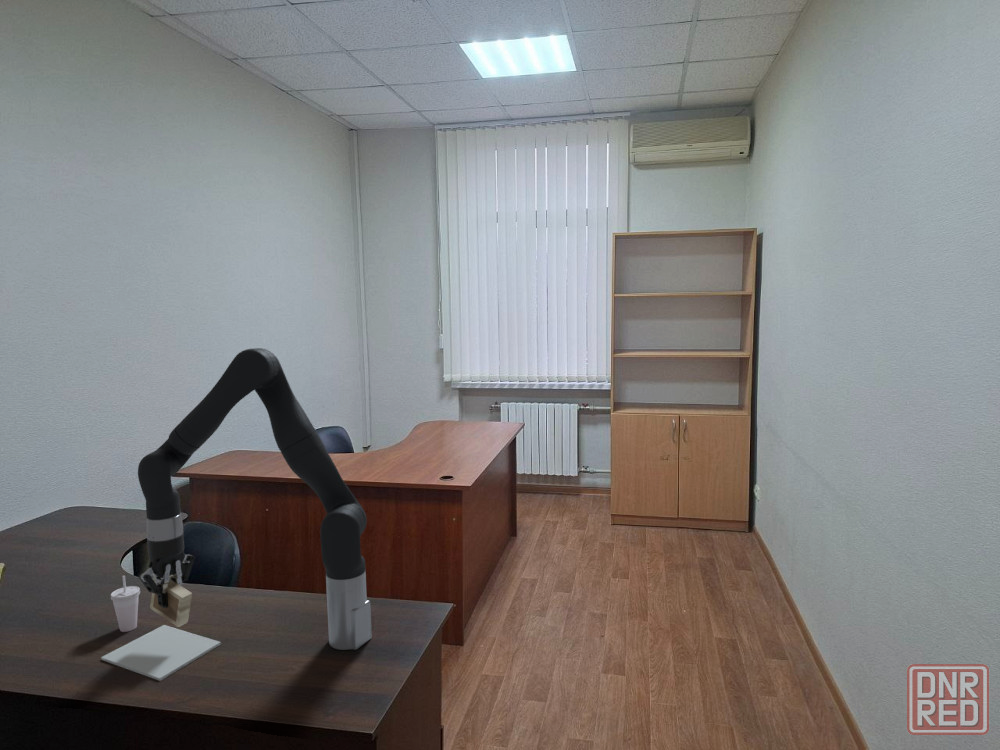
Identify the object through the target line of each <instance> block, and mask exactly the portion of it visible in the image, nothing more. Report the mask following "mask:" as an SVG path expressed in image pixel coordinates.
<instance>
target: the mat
mask: <svg viewBox="0 0 1000 750" xmlns="http://www.w3.org/2000/svg"><path fill="white" fill-rule="evenodd" d="M220 645H222V642H221V641H219V640H215V639H212V638H209V637H205V636H202V635H199V634H195V633H194V632H192V633H191V632H189V631H185V630H183V629H179V628H177V627H172V626H169V625H166V624H163V625H161V626H159V627H157V628H154V629H153V630H151V631H150V632H148V633H146V634H143V635H142V636H140V637H137V638H135V639H134V640H131V641H130V642H128V643H126V644H125V645H122V646H120V647H119V648H116V649H114V650H112V651H110V652H108V653H107V654H105V655H103V656H101V657H100V659H101V660H102V661H104V662H107V663H109V664H112V665H114V666H117V667H121V668H123V669H127V670H128V671H131V672H135V673H137V674H139V675H142V676H146V677H148V678H151V679H152V680H153V679H154V680H157V681H159V682H160V681H163V680H164V679H166V678H167V677H169V676H170V675H173V674H174V673H176V672H178V671H179V670H180V669H181V670H182V669H183V668H184V667H186V666H187V665H189V664H191V663H193V662H194V661H196V660H197V659H199V658H201V657H203V656H205V655H206V654H208V653H209V652H210V651H212V650H214V649H216V648H217V647H219V646H220Z"/></svg>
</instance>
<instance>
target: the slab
mask: <svg viewBox="0 0 1000 750" xmlns="http://www.w3.org/2000/svg"><path fill="white" fill-rule="evenodd" d="M153 580H154V582H155V578H153ZM155 583H156V582H155ZM167 595H168V607H167V608H163V607H161V606H159V605H158V595H157V594H154V593H151V597H150V605H149V609H151V610H152V611H153V612H155V613H156V614H158V616H161V617H162V618H164V619H165V620H167V622H169V623H171V624H173V625H174V626H175V627H176V628H180V627H182V626H183V625H185V624H188V623H189V618H190V617H189V616H190V611H191V604H192V597H193V593H192V591H189V590H188V589H186V588H185V587H183V586H182V585H181V586H180V585H179V584H177V583H176V582H174V581H172V580H171V579H170V578H169V583H168V586H167Z"/></svg>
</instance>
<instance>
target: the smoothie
mask: <svg viewBox="0 0 1000 750" xmlns="http://www.w3.org/2000/svg"><path fill="white" fill-rule="evenodd" d="M125 575H126V574H125ZM125 575H122V586H123V587H121V588H117V589H116V590H114V591H112V592H111V593H110V600H111V601H112V604H113V607H114V612H115V615H116V619H117V624H118V628H119V631H120V632H122V633H126V632H130V631H133V630H135V629H136V628H137V627H138V613H139V612H138V611H139V610H138V609H139V596H140V594H141V589H140V587H139V586H136V585H129V586H127V584H126V576H125Z"/></svg>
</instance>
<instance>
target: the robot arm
mask: <svg viewBox="0 0 1000 750" xmlns="http://www.w3.org/2000/svg"><path fill="white" fill-rule="evenodd" d="M281 364H282V363H280V360H279V359H278V357H277V356H276V355H275V354H274V352H272V351H270V350H269V349H267V348H266V349H265V348H262V347H261V348H257V347H256V348H249V349H247V348H246V349H243V350H241V351H240V352H238V353H237V354H236V355H235V357H234V358H233V359H232V360H231V362H230V364H229V365H228V366H227V368H226V369H225V370H224V372H223V373H222V376H220V378H219V379H218V380H217V382H216V384H215V385H214V386H213V387H212V389H211V390H210V391H209V392H208V393H207V394H206V396H205V397H204V398H203V399H202V400H200V402H198V404H197V405H196V406H195V407H194V408H193V409H191V411H190V412H189V413H188V414H187V415H186V416H185V417H184V418H183V419H182V420H181V421H180V422H179V423H178V424H177V425H176V426H175V427H174V428H173V429H172V430H171V432H170V433H169V435H168V438H167V439H166V440H165V441H164V442H163V443H162V444H161V445H160V446H159V447H158V448H157V449H155V450H154V451H151V452H150V453H148V454H146V455H145V456H144V457H143V458H141V460H140V461H139V463H138V467H137V478H138V483H139V485H140V489H141V492H142V495H143V497H144V499H145V510H146V511H145V513H146V527H145V528H146V529H145V530H146V541H147V542H146V543H147V552H148V553H147V555H148V557H149V563H148V569H146V570H145V571H144V572H141V573H139V574H138V579H139V581H140V582H141V583H142V585H143V586H144V587H145V589H146V590H147V591H148V592H149V593H151V594H152V593H154V594H157V595H158V605H159V606H161V607H163V608H167V607H168V595H167V586H168V583H169V579H171V580H172V581H174V582H176V583H177V584H179V585H180V586H182V585H183V583H184V582H187V581H189V577H190V575H191V572H192V569H193V566H194V562H195V559H196V556H195V555H192V554H188V553H187V554H186V553H185V538H184V537H185V536H184V525H183V518H182V511H181V510H182V509H181V497H180V495H179V492H178V490H177V489H175V488H173V484H172V477H173V476H175V475H176V474H177V473H178V472H179V471H180V470H181V469H182V468H183V467H184V466H185V464H186V463H188V461H189V460H190V458H191V457H192V456H193V454H194V453H196V452H197V450H199V449H200V448H201V447H202V446H203V445H204V444H205V443H206V442H207V441H208V440H209V438H211V437H212V436H213V435H214V433H215V432H216V431H217V430H218V429H219V427H220V426H221V425H222V424H223V421H224V420H225V419H226V417H227V416H228V414H229V413H230V411H231V410H233V408H234V407H235V406H236V405H237V404H238V403H239V402H240V401H242V400H243V399H245V397H246V396H248V395H249V394H250V393H252V392H254V391H255V393H256V394H257V396H258V397H259V398H260V400H261V402H262V403H263V406H264V407H265V410H266V411H267V413H268V414H267V415H268V417H269V420H270V421H269V422H270V425H271V426H270V427H271V430H272V433H273V438H274V439H275V440H274V441H275V443H276V445H277V447H278V449H279V451H280V453H281V455H282V457H283V459H284V460H285V462H286V464H287V465H288V467H289V468H290V470H291V471H292V472H293V473H294V474H295V475H296V476H297V477H298V478H299V479H300V480H302V481H303V482H304V483H305V484H306V485H307V486H308V487H310V488H311V490H313V491H314V493H315V494H316V496H317V498H319V500H320V502H321V503H322V505H323V507H324V510H325V513H326V516H325V517H324V518H323V519H322V522H321V525H320V531H319V533H320V535H319V537H320V547H321V548H320V550H321V560H322V561H321V562H322V565H323V566H324V568H325V583H326V604H327V608H326V609H327V626H328V628H327V630H328V644H329V646H330V647H331V648H333V649H336V650H339V651H340V650H341V651H345V650H348V651H349V650H355V651H357V650H358V649H359V648H361V647H362V646H363V645H364V644H366V643H367V642H368V641H369V640H371V639H372V638H373V637H372V616H371V615H372V612H371V610H372V609H371V601H370V600H368V598H367V597H368V596H367V577H366V576H367V574H366V559H365V558H364V556H363V555H362V551H361V549H362V548H361V535H362V534H363V532H364V531H365V529H366V527H367V524H368V521H367V514H366V512H365V510H364V508H363V506H362V505H361V504H360V502H359V501H358V499H357V498H356V497H355V495H354V493H352V490H350V488H349V487H348V486H347V485H348V484H346V483H345V480H344V479H343V478H342V475H341V474H340V472H339V471H338V468H337V466H336V464H335V463H334V460H333V459H332V458H331V455H330V454H329V452H328V450H327V448H326V446H325V444H324V442H323V440H322V439H321V437H320V435H319V433H318V432H317V430H316V428H315V427H314V424H313V423H312V422H311V420H310V419H309V417H308V416H307V414H306V412H305V410H304V409H303V407H302V405H301V404H300V402H299V401H298V399H297V397H296V396H295V394H294V392H293V390H292V388H291V386H290V383H289V381H288V377H287V376H286V374H285V372H284V369H283V367H282V365H281ZM153 574H154V575H153ZM154 579H155V582H156V583H155V582H154Z"/></svg>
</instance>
